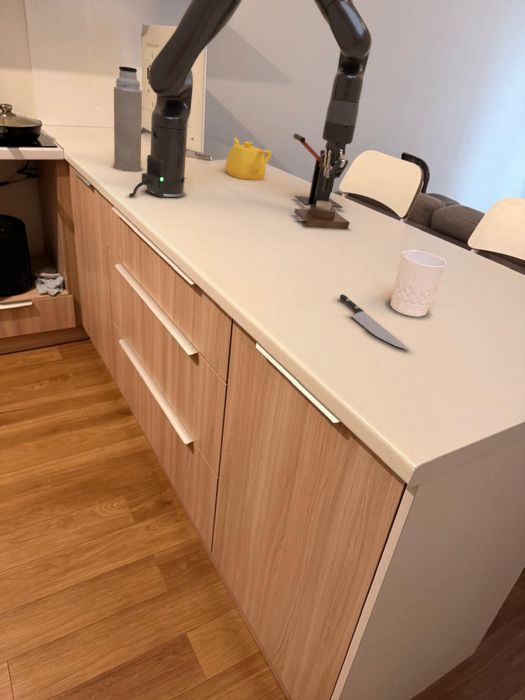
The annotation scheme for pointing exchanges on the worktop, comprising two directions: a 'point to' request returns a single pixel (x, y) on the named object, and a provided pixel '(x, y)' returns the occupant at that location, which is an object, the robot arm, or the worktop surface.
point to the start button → (323, 205)
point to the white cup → (416, 282)
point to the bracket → (317, 189)
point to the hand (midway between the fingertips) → (326, 192)
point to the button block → (321, 218)
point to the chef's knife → (371, 323)
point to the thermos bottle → (127, 120)
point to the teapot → (247, 161)
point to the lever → (307, 147)
